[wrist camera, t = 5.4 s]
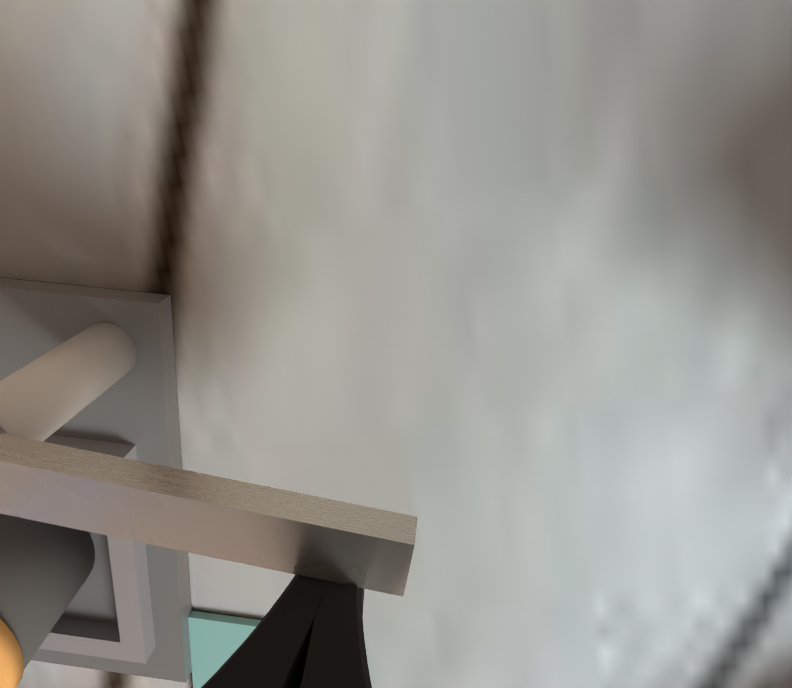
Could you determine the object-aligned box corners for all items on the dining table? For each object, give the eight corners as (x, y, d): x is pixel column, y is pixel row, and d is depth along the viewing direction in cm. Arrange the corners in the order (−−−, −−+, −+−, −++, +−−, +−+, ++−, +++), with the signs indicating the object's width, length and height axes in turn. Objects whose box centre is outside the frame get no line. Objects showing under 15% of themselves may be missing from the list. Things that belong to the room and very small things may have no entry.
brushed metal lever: (-74, 480, 13) (-116, 510, 12) (-87, 395, 12) (-133, 419, 11) (403, 578, 12) (399, 616, 12) (421, 496, 12) (417, 530, 11)
